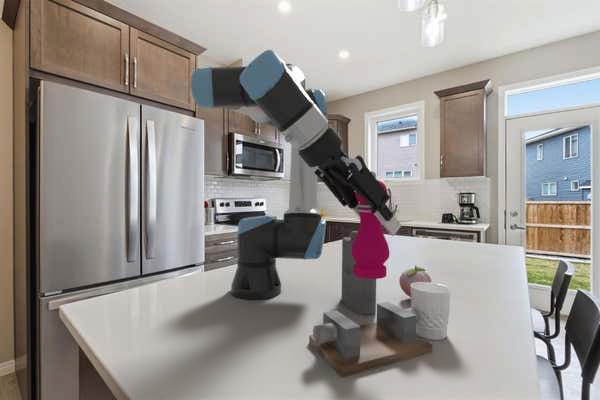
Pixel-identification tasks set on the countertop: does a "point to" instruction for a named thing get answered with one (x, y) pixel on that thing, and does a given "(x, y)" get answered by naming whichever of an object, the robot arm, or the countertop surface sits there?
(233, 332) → the countertop surface
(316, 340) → the block
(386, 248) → the pepper mill
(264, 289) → the robot arm
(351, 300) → the flask
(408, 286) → the decorative fruit
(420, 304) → the white cup
